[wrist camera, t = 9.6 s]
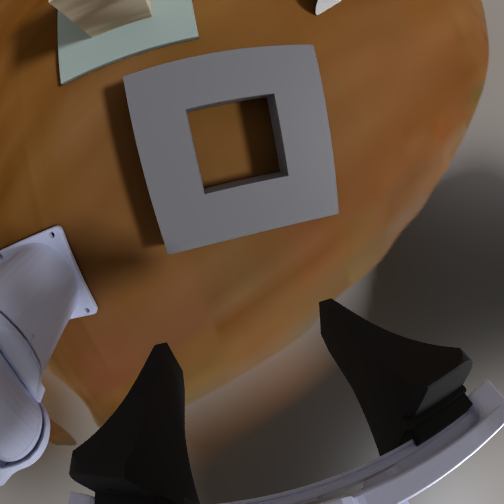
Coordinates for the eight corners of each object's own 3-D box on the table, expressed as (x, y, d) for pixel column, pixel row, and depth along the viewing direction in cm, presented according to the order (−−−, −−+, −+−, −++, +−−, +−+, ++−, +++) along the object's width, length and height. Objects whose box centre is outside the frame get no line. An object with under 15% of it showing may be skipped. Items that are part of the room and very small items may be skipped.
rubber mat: (64, 84, 13) (61, 83, 12) (61, -10, 8) (59, -12, 8) (198, 38, 14) (198, 36, 13) (181, -51, 9) (181, -54, 9)
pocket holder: (170, 243, 19) (168, 255, 18) (130, 82, 14) (122, 76, 12) (326, 206, 20) (338, 213, 19) (302, 52, 15) (313, 44, 13)
